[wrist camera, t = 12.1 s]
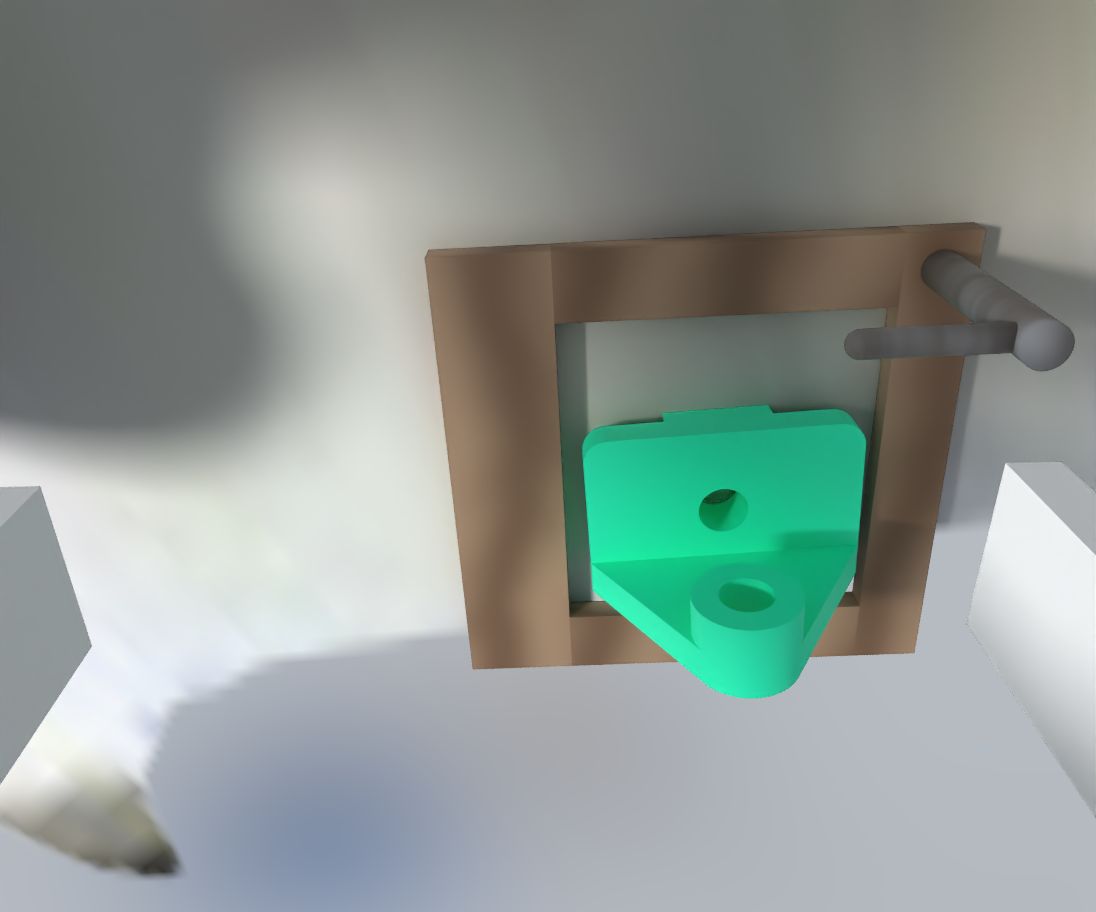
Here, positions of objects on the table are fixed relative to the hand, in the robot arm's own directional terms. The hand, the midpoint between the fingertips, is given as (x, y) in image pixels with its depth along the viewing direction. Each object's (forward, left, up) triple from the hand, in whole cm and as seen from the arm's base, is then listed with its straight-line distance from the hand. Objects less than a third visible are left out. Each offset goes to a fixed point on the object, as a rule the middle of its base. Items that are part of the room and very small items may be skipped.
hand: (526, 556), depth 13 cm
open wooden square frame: (+6, -13, -26) cm, 30 cm away
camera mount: (+7, -14, -27) cm, 31 cm away
